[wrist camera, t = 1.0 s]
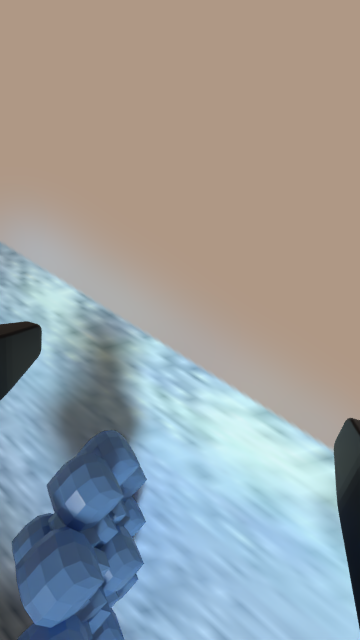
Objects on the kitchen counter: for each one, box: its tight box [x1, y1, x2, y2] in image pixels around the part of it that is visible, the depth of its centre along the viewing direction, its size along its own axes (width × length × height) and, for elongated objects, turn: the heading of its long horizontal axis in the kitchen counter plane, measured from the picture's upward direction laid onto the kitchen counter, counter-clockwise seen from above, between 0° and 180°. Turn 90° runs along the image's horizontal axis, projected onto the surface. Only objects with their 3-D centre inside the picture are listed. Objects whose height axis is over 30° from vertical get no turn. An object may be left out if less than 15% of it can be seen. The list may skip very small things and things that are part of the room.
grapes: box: [12, 430, 147, 640], centre depth 16 cm, size 12×7×12 cm, turn 174°
